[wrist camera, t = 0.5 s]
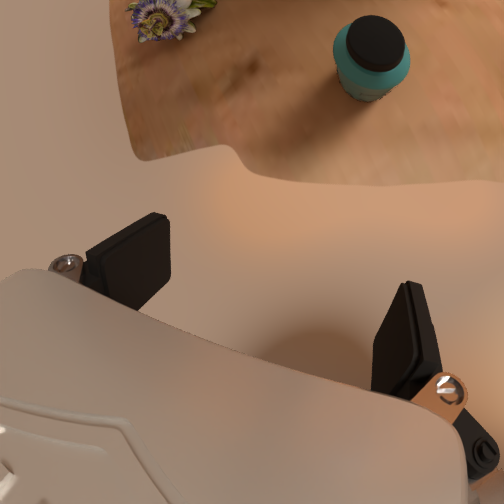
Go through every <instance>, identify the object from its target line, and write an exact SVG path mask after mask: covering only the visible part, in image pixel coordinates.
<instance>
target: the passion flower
mask: <svg viewBox="0 0 504 504" xmlns="http://www.w3.org/2000/svg"><path fill="white" fill-rule="evenodd" d="M216 4H217V2H216V1H215V0H139V3H131V4H129V6H128V8H126V9H125V12H126V11H129V10H133V12H134V13H133V14H132V16H131V20H132V21H133V23H131V24H135V26H134V27H133V28H135V27H138V28H139V31H138V34H139V36H138V41H139V43H143V42H144V41H146V40H156V41H160V40H161V39H164V40H166V39H169V40H171V39H173V38H177V39H178V40H181V39H182V38H183V31H186V32H189V33H194V32H196V26H195V25H194V24H193V23H192V22H191V21H190V19H191V18H193V17H196V16H199V15H200V14H201V11H200V10H199V9H198V8H200V7H207V8H213V7H214V6H215V5H216Z"/></svg>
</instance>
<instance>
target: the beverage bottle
mask: <svg viewBox="0 0 504 504" xmlns="http://www.w3.org/2000/svg"><path fill="white" fill-rule="evenodd" d="M333 55H334V59H335V62H336V64H337V72H338V74H339V78H340V81H339V82H340V83H341V84H342V86H343V88H344V89H345V91H346V93H348V94H349V95H350V97H353V98H354V99H355V98H356V99H358V100H359V101H360V100H361V101H365V102H367V101H374V100H377V99H379V98H380V99H381V97H382V96H383V95H384V96H386V95H387V94H386V93H387V92H388V91H390V90H391V89H392V88H393V87H394V86H396V85H398V84H399V83H400V82H401V81H402V80H403V79H404V78H405V77H406V75H407V73H408V71H409V68H410V54H409V50H408V47H407V45H406V43H405V40H404V37H403V35H402V33H401V31H400V30H399V29H398V27H397V26H396V25H395V24H393V23H392V22H391V21H389V20H387V19H385V18H383V17H380V16H375V15H368V16H363V17H360V18H358V19H356V20H355V21H354V22H353V23H351V24H348V25H347V26H345V27H344V28H342V29H341V30H340V32H339V33H338V34H337V36H336V38H335V41H334V45H333ZM338 74H337V75H338ZM339 78H338V79H339ZM341 84H340V85H341ZM342 86H341V87H342ZM393 90H394V89H393ZM382 98H383V97H382ZM380 99H379V100H380ZM358 100H357V101H358ZM361 101H360V102H361ZM374 102H375V101H374Z"/></svg>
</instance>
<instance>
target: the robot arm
mask: <svg viewBox="0 0 504 504" xmlns="http://www.w3.org/2000/svg"><path fill="white" fill-rule="evenodd" d="M86 258H87V261H85V262H83V259H82V257H81V256H79V255H75V254H68V255H63V256H61V257H58V258H56V259H55V260H54V261H52V262H51V264H50V266H49V268H48V271H47V270H42V269H23V270H20V271H18V272H16V273H14V274H12V275H10V276H9V277H7V278H5V279H4V280H2V281H1V282H0V504H504V471H503V469H502V468H501V469H500V470H498V469H497V465H498V463H499V458H500V453H499V448H498V445H497V443H496V442H495V440H494V439H493V438H492V437H491V436H490V435H489V434H488V433H487V432H486V430H484V428H483V427H482V426H481V425H480V424H479V423H478V422H477V421H476V420H475V419H474V418H473V417H472V416H471V415H470V413H469V412H468V411H467V410H466V409H465V408H464V406H465V405H466V402H467V400H468V392H467V389H466V387H465V385H464V383H463V382H462V381H461V380H460V379H459V378H458V377H456V376H455V375H453V374H451V373H447V372H443V370H442V364H441V359H440V354H439V348H438V343H437V339H436V334H435V331H434V326H433V324H432V322H431V317H430V314H429V310H428V306H427V302H426V299H425V294H424V291H423V287H422V285H421V284H419V283H415V282H412V281H406V283H405V284H404V283H401V284H400V286H399V288H398V291H397V293H396V295H395V297H394V299H393V302H392V304H391V306H390V308H389V310H388V312H387V314H386V316H385V318H384V320H383V322H382V324H381V327H380V328H379V331H378V332H377V334H376V336H375V339H374V343H373V362H372V380H371V390H367V389H363V388H360V387H356V386H352V385H348V384H344V383H340V382H336V381H332V380H328V379H324V378H321V377H317V376H313V375H310V374H306V373H303V372H300V371H296V370H293V369H289V368H286V367H283V366H280V365H277V364H273V363H271V362H267V361H264V360H261V359H258V358H255V357H252V356H249V355H246V354H244V353H240V352H238V351H235V350H232V349H229V348H226V347H224V346H221V345H218V344H216V343H213V342H210V341H208V340H205V339H203V338H200V337H197V336H195V335H192V334H190V333H187V332H185V331H182V330H180V329H178V328H175V327H173V326H170V325H168V324H166V323H163V322H161V321H159V320H156V319H154V318H152V317H149V316H147V315H145V314H143V313H140V312H138V310H139V309H140V308H141V307H142V306H143V305H144V304H145V303H146V302H147V301H148V300H149V299H150V298H151V297H152V296H153V295H155V293H157V292H158V291H159V290H160V289H161V288H162V287H163V286H164V285H165V284H166V283H167V282H168V281H169V279H170V277H171V260H170V221H169V220H168V219H167V217H166V215H163V214H159V213H155V212H153V213H150V214H148V215H147V216H145V217H143V218H141V219H140V220H138V221H136V222H134V223H133V224H131V225H129V226H127V227H126V228H124V229H123V230H121V231H119V232H117V233H116V234H114V235H112V236H111V237H109V238H107V239H106V240H104V241H102V242H101V243H99V244H97V245H96V246H94V247H93V248H91V249H89V250H88V251H86Z"/></svg>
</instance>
